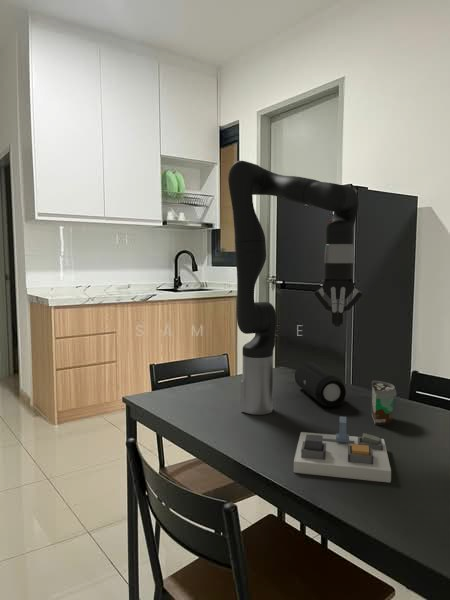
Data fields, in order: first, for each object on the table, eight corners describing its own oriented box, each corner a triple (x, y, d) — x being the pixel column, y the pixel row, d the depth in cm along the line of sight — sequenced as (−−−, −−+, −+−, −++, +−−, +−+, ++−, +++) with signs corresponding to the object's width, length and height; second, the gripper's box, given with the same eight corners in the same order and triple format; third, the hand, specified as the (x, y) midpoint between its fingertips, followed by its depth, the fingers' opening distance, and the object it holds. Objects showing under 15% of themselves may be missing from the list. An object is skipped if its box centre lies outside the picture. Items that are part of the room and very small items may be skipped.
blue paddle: (336, 442, 111) (336, 422, 111) (336, 436, 116) (336, 416, 115) (349, 443, 111) (349, 423, 110) (348, 437, 115) (349, 417, 115)
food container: (399, 428, 129) (400, 392, 128) (375, 426, 130) (376, 391, 130) (392, 413, 141) (393, 381, 140) (371, 412, 142) (371, 380, 142)
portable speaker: (292, 388, 170) (292, 361, 169) (318, 387, 172) (319, 359, 171) (318, 410, 145) (318, 378, 144) (348, 408, 147) (349, 377, 146)
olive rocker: (362, 441, 110) (363, 436, 110) (362, 437, 112) (363, 432, 112) (378, 446, 109) (379, 441, 109) (377, 441, 112) (378, 437, 111)
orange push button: (351, 460, 102) (351, 450, 102) (351, 453, 106) (351, 444, 106) (369, 461, 101) (369, 451, 101) (368, 455, 105) (368, 445, 105)
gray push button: (305, 449, 105) (305, 440, 104) (306, 443, 108) (306, 434, 108) (321, 451, 104) (321, 441, 104) (322, 445, 107) (322, 435, 107)
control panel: (293, 472, 102) (293, 453, 102) (300, 441, 120) (300, 425, 119) (390, 482, 98) (391, 463, 97) (383, 448, 115) (383, 432, 115)
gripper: (312, 261, 124) (311, 327, 125) (365, 261, 120) (363, 329, 122) (314, 261, 131) (313, 323, 133) (364, 261, 128) (362, 325, 129)
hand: (337, 326), depth 127 cm, fingers closed
